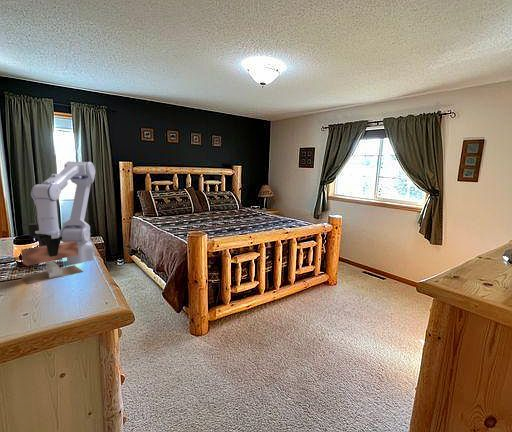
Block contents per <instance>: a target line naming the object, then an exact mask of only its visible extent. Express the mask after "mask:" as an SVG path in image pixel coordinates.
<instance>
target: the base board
mask: <svg viewBox="0 0 512 432" xmlns="http://www.w3.org/2000/svg"><path fill="white" fill-rule="evenodd" d="M59 268H60V269H61V270H62V271H63V276H59V277H54V278H48V277H47V276H46V275H45V274H44V273H43V271H41V272H40V271H39V272H35V273H31V274H25V275H20V278H21V280H23V282H24V283H25V284H26V285H31V284H37V283H40V282H45V281H49V280H54V279H58V278H59V279H60V278H63V277H68V276H71V275H76V274H80V273H84V270H82V269H80V267H78V266H76V264H72V265H70V266H65V267H64V266H63V267H59Z"/></svg>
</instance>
